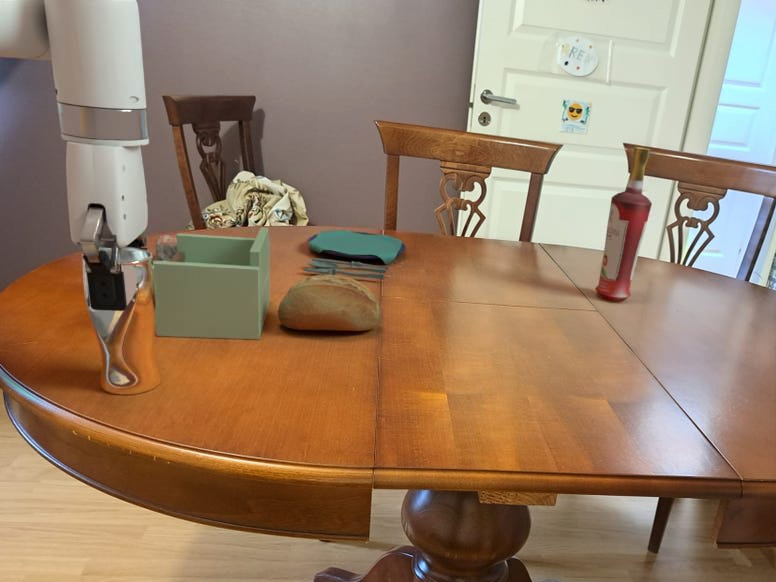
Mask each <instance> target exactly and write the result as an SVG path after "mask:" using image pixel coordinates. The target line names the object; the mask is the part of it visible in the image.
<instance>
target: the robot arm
mask: <svg viewBox="0 0 776 582" xmlns="http://www.w3.org/2000/svg"><path fill="white" fill-rule="evenodd" d="M139 11H140V10H139V5H138V2H137V0H0V58H9V59H10V58H11V59H23V60H33V61H51V66H52V74H53V81H54V91H55V97H56V103H57V113H58V121H59V127H60V128H59V129H60V135H61V136H60V137H61V139H62V140H64V141H67V142H66V154H65V168H66V169H65V175H66V176H65V177H66V193H67V207H68V219H69V230H70V239H71V241H72V243H73V244H74V245H76V246H79V247H81V249H82V252H83V253H82V254H84V255H83V259H84V260H85V271H86V273H87V281H88V289H89V297H90V305H91V308H92V309H94V310H110V311H124V310H125V309H126V308H127V301H126V291H125V281H124V272H120V271H119V268H120V258H121V248H124V247H135V248H141V249H145V250H148V247H147V243H148V240H147V236H146V232H145V231H146V229H147V227H148V223H149V222H148V221H149V211H148V209H149V208H148V197H147V187H146V177H145V170H144V162H143V156H142V149H141V146H147V145H149V144H150V137H149V135H150V134H149V123H148V121H149V120H148V110H147V97H146V84H145V71H144V58H143V45H142V34H141V33H142V32H141V22H140V21H141V20H140V19H141V18H140V12H139ZM102 239H103V240H102ZM105 239H108V240H105ZM101 250H112V251H111V260H110V258H109V256H108V254H107V253H106V251H101Z"/></svg>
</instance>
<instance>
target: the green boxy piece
mask: <svg viewBox="0 0 776 582" xmlns="http://www.w3.org/2000/svg"><path fill="white" fill-rule="evenodd" d="M175 236H176V238H177V253H176V254H175V255H174V256H173V258H172V259H171V260H170V261H169V262H166V261H155V260H153V263H154V268H155V274H156V280H157V288H158V316H157V325H156V333H155V334H156V337H166V338H167V337H171V338H196V339H197V338H199V339H200V338H201V339H228V340H229V339H231V340H233V339H234V340H258V341H259V340H261V339H260V338H261V335H262V332H263V328H264V324H265V321H266V317H267V314H268V310H269V306H270V303H271V247H270V246H271V245H270V243H271V242H270V229H269V227H259V230H258V232H257V234H256V236H255V238H253V237H242V236H227V235H226V236H225V235H211V234H209V235H208V234H196V233H183V232H182V233H181V232H179V233H177V234H176V235H175Z"/></svg>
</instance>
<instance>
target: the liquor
mask: <svg viewBox="0 0 776 582" xmlns="http://www.w3.org/2000/svg"><path fill="white" fill-rule="evenodd" d="M650 152H651V148H646V147H645V148H644V147H638V146H637V147H636V146H635V147H634V150H633V155H632V167H631V169H630V173H629V177H628V180H627V183H626V186H625V190H624V191H620V192H617V193H616V194H614V195H613V196H611V200H610V207H609V214H608V220H607V225H606V233H605V240H604V241H605V242H604V249H603V254H602V255H603V256H602V261H601V267H600V274H599V280H598V284H597V286H596V287H595V288H594V289H595V291H596V293H597V294H598V295H599V297H600V298H601V299H602V300H604V301H608V302H613V303H622V302H623V301H626V299H628V298H629V297H631V295H632V294H631V291H630V289H631V285H632V280H633V276H634V273H635V268H636V265H637V261H638V257H639V253H640V249H641V245H642V243H643V239H644V236H645V232H646V228H647V224H648V220H649V217H650V212H651V208H652V205H653V203H652V201H651V200H650V198H648V197H647V196H646V195H644V194H643V186H644V177H645V168H646V165H647V162H648V160H649V156H650Z"/></svg>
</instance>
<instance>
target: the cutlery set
mask: <svg viewBox="0 0 776 582" xmlns="http://www.w3.org/2000/svg"><path fill="white" fill-rule="evenodd" d="M406 246H407V245H406V244H405V243H404V241H403V240H401V239H398V238H395V237H394V236H390V235H388V234H387V235H386V234H378V233H377V234H376V233H371V232H361V231H351V230H346V229H334V230H333V229H331V230H324V231H319V232H318V233H317V234H314V235H312V236H310V237H309V238H308V247H309V248H310V250H311V251H314V252H316V253H318V254H320V255H321V254H323V253H325V254H329V255H332V256H337V257H341V258H347V259H361V260H371V259H372V260H374V259H375V260H376V259H378V260H379V259H381V260H382V262H383V263H384V264H385V265H388V264H390V263H392V262H393V261H394V260H395V259H396V257H397V256H400V255H402V254H403V253H405V252H406V251H407V247H406ZM307 265H309V266H310V268H309V267H304V268H303V269H302V271H304V272H307V273H317V274H320V275H337V274H340V275H343V276H344V275H345V276H347V277H354V278H355V277H356V278H367V279H378V280H384V278H385V274H386V273H387V271H389V269H390V268H389V265H388V266H381V265H374V264H373V265H372V264H368V263H362V262H360V261H354V260H352V261H351V262H349V261H343V260H335V259H327V258H311V261H308V262H307ZM341 265H344V266H341ZM312 267H313V268H312ZM347 270H353V271H354V270H355V271H356V270H357V271H366V272H351V271H347Z"/></svg>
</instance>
